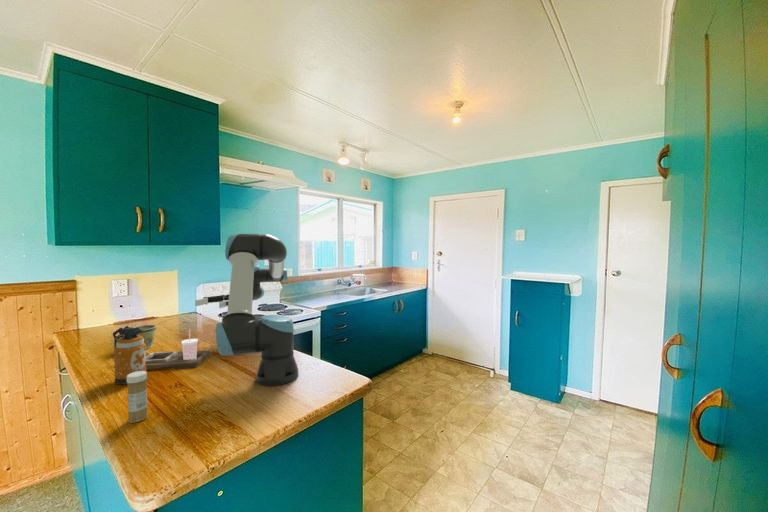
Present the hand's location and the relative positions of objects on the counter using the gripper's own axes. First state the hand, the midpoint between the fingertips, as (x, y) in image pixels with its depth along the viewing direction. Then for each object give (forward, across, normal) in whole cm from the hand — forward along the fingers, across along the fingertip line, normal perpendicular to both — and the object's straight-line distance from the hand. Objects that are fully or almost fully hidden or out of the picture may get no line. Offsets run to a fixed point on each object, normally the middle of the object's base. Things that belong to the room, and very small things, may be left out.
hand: (207, 304), depth 141 cm
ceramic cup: (+1, +37, -23) cm, 44 cm away
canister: (+31, +6, -23) cm, 39 cm away
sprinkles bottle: (+49, -24, -23) cm, 59 cm away
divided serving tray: (+12, +5, -23) cm, 27 cm away
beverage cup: (+10, 0, -23) cm, 25 cm away
